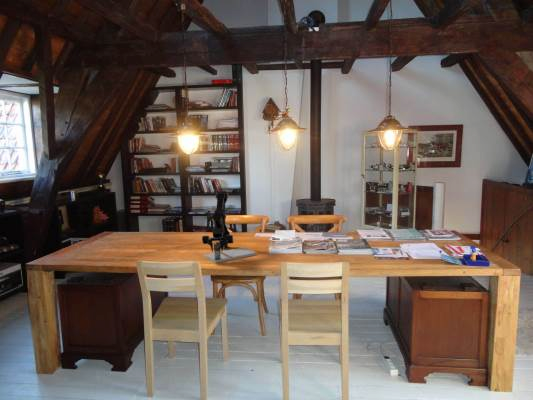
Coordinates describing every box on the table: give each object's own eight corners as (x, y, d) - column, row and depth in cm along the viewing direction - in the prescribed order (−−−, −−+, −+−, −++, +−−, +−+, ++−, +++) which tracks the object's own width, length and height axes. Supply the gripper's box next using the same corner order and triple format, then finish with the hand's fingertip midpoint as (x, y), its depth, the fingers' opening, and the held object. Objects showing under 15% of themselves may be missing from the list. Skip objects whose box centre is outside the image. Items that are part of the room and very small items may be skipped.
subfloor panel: (204, 256, 247) (204, 254, 247) (244, 249, 263) (244, 247, 262) (215, 262, 234) (215, 260, 234) (256, 254, 249) (256, 252, 249)
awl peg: (213, 258, 237) (212, 242, 236) (219, 257, 239) (218, 241, 238) (216, 260, 234) (215, 244, 232) (222, 259, 236) (221, 243, 235)
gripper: (201, 223, 237) (199, 245, 228) (232, 222, 237) (231, 244, 228) (204, 232, 246) (202, 254, 237) (233, 231, 246) (232, 253, 237)
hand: (217, 251), depth 234 cm, fingers open, 5 cm apart
